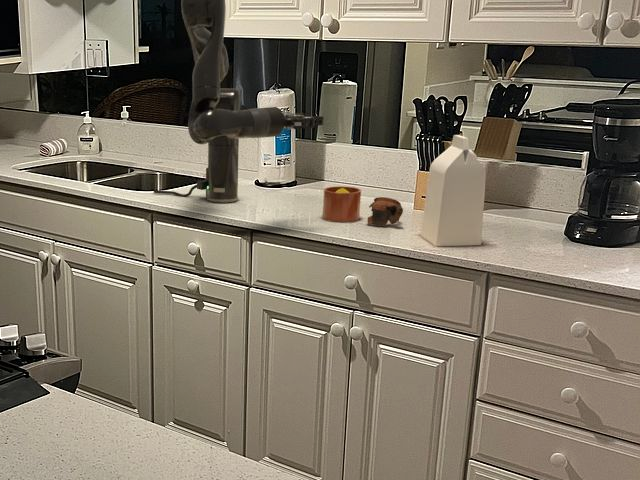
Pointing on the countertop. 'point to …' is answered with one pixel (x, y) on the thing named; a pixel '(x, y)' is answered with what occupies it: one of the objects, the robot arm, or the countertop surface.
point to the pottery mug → (385, 211)
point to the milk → (454, 197)
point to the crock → (341, 204)
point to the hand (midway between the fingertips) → (313, 118)
